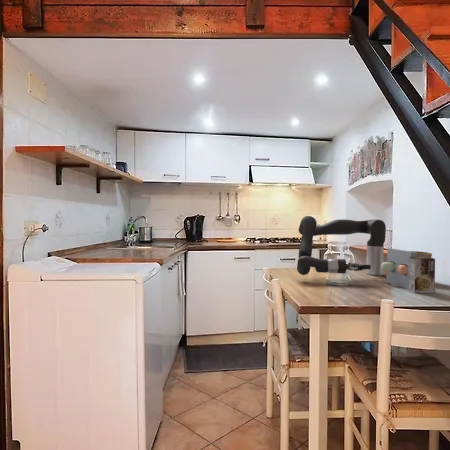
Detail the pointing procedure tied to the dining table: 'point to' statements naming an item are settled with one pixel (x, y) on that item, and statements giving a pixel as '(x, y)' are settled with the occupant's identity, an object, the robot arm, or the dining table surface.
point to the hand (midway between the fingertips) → (370, 267)
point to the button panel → (400, 259)
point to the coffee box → (422, 274)
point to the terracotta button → (402, 269)
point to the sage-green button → (388, 266)
